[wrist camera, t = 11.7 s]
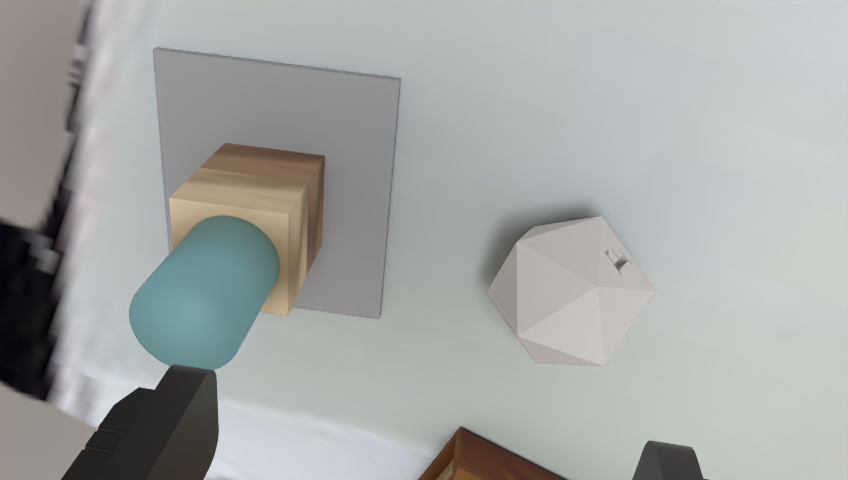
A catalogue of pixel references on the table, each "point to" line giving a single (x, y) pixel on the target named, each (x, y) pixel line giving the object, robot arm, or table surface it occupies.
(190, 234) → the teal cylinder
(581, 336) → the die
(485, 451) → the diary
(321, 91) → the slate mat
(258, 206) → the oak block
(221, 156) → the walnut block
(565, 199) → the table surface
